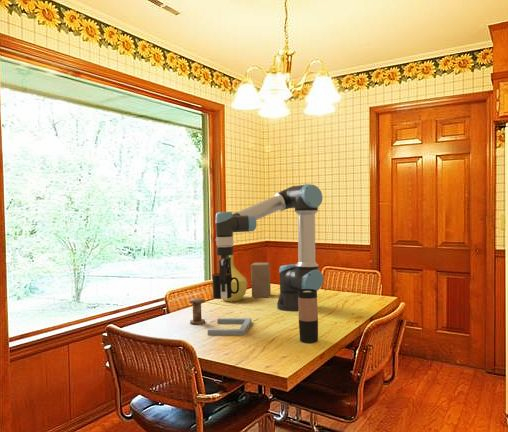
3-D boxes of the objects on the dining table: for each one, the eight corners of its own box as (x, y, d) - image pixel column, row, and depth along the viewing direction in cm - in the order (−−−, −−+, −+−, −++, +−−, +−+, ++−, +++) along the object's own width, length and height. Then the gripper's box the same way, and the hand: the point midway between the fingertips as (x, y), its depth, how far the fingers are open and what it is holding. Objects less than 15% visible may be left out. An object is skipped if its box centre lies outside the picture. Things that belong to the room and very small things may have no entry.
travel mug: (297, 338, 170) (296, 289, 170) (316, 337, 171) (314, 288, 171) (301, 344, 163) (299, 292, 162) (320, 343, 163) (319, 291, 163)
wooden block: (268, 297, 250) (267, 264, 250) (251, 297, 252) (250, 264, 252) (270, 294, 260) (269, 262, 260) (255, 294, 262) (254, 262, 262)
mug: (236, 299, 182) (235, 275, 182) (210, 298, 185) (209, 275, 185) (241, 295, 190) (240, 272, 190) (216, 295, 193) (215, 272, 193)
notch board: (251, 322, 196) (251, 318, 196) (244, 335, 177) (244, 330, 177) (218, 322, 199) (218, 318, 199) (207, 334, 179) (207, 330, 179)
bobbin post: (206, 320, 202) (205, 298, 202) (202, 324, 195) (201, 301, 195) (192, 320, 203) (191, 298, 203) (188, 324, 196) (187, 301, 196)
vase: (253, 298, 250) (252, 248, 250) (236, 304, 235) (234, 251, 235) (228, 295, 260) (227, 247, 260) (210, 301, 245) (208, 250, 244)
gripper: (221, 244, 198) (223, 292, 199) (210, 248, 177) (212, 301, 178) (237, 244, 197) (238, 292, 198) (228, 248, 176) (229, 301, 177)
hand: (226, 296), depth 188 cm, fingers closed on mug, 8 cm apart
